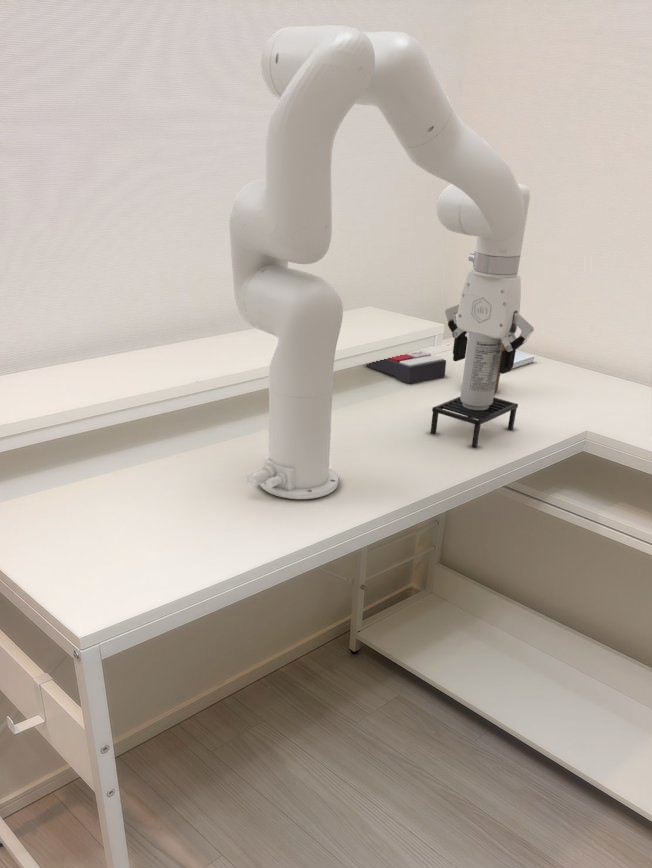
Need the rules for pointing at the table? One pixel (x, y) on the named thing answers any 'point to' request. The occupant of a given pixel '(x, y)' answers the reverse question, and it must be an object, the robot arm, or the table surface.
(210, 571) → the table surface
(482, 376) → the energy drink can
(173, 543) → the table surface
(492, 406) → the rack
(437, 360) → the calculator
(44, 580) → the table surface
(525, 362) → the hard drive
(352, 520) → the table surface
